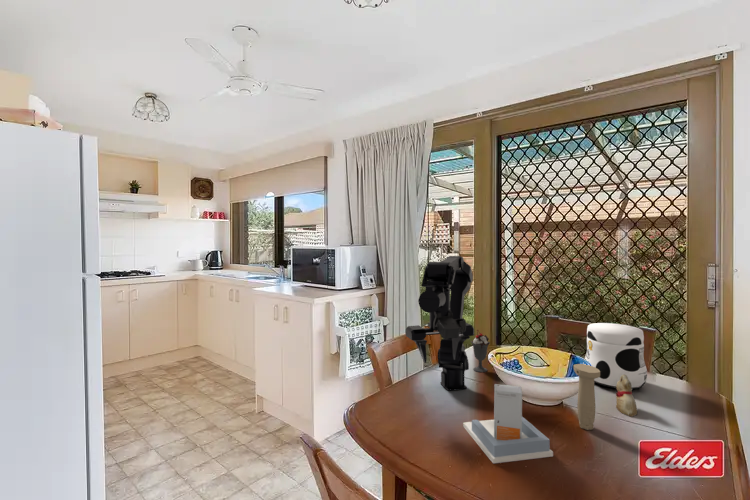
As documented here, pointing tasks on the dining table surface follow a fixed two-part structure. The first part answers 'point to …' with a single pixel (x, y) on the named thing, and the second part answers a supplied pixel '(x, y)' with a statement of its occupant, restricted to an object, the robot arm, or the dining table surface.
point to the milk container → (616, 353)
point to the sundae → (480, 350)
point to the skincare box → (507, 412)
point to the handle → (586, 394)
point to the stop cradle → (509, 442)
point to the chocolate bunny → (625, 397)
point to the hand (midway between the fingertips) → (440, 361)
